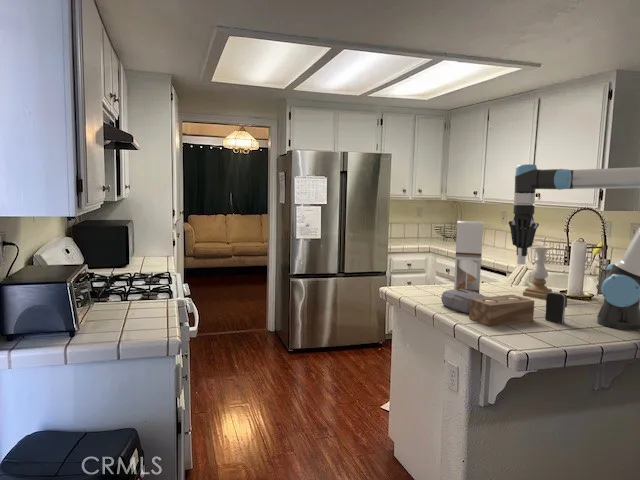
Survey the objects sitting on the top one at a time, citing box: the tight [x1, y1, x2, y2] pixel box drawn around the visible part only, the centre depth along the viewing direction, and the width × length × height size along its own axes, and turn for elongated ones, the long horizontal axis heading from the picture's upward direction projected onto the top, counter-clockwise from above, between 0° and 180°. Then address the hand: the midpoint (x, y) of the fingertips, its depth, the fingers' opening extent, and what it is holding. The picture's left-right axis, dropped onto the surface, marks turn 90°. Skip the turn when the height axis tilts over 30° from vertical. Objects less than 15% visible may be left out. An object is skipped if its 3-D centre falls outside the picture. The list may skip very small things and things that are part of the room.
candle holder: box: [522, 244, 554, 300], centre depth 230 cm, size 11×11×24 cm
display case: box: [453, 220, 484, 294], centre depth 227 cm, size 11×11×35 cm
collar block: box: [468, 294, 535, 327], centre depth 188 cm, size 11×22×8 cm, turn 113°
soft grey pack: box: [441, 288, 486, 314], centre depth 204 cm, size 15×8×20 cm
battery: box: [544, 291, 568, 324], centre depth 188 cm, size 7×4×11 cm, turn 37°
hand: (521, 264), depth 191 cm, fingers closed
